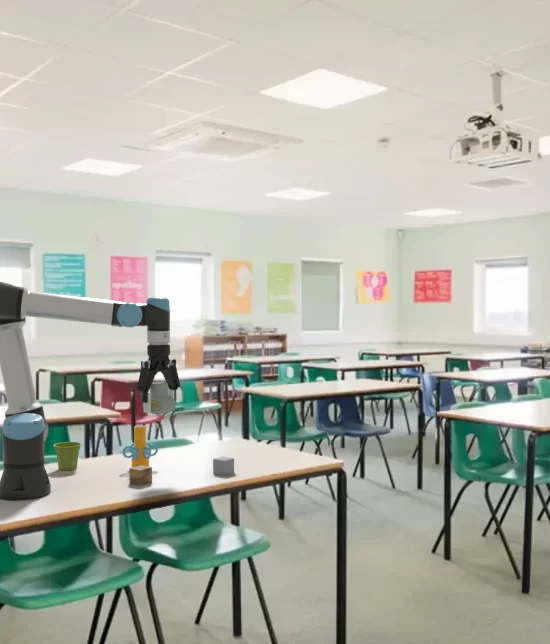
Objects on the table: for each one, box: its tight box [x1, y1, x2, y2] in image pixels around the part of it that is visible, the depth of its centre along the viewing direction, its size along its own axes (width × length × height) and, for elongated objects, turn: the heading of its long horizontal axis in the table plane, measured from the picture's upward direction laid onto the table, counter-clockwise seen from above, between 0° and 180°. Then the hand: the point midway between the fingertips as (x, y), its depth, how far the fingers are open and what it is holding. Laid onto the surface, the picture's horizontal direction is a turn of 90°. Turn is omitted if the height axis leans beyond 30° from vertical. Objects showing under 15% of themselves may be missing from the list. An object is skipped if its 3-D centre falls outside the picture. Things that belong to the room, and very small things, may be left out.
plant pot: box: [53, 441, 82, 471], centre depth 246 cm, size 9×9×9 cm
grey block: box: [212, 456, 235, 476], centre depth 237 cm, size 5×5×5 cm
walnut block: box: [128, 465, 153, 487], centre depth 224 cm, size 5×5×5 cm
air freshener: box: [142, 381, 176, 415], centre depth 235 cm, size 11×8×10 cm
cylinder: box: [122, 425, 159, 468], centre depth 244 cm, size 12×10×15 cm
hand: (159, 410), depth 235 cm, fingers closed on air freshener, 10 cm apart
